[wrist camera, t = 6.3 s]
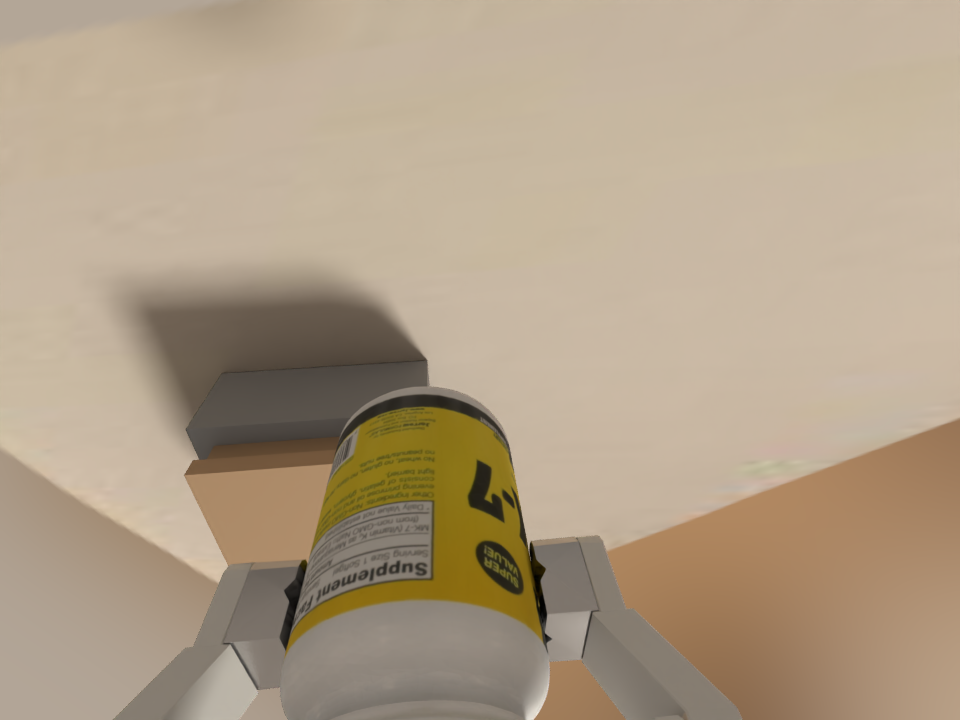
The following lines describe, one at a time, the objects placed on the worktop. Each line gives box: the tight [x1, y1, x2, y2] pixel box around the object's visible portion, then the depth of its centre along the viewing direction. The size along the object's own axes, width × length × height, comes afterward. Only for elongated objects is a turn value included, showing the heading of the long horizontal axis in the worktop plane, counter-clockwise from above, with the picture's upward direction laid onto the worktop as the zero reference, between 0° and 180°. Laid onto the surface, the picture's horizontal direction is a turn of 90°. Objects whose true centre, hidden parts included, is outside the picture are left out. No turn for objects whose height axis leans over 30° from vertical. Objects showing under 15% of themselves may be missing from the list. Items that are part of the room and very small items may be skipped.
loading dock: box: [184, 361, 429, 566], centre depth 28 cm, size 12×12×7 cm
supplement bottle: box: [280, 386, 550, 720], centre depth 10 cm, size 5×5×8 cm
